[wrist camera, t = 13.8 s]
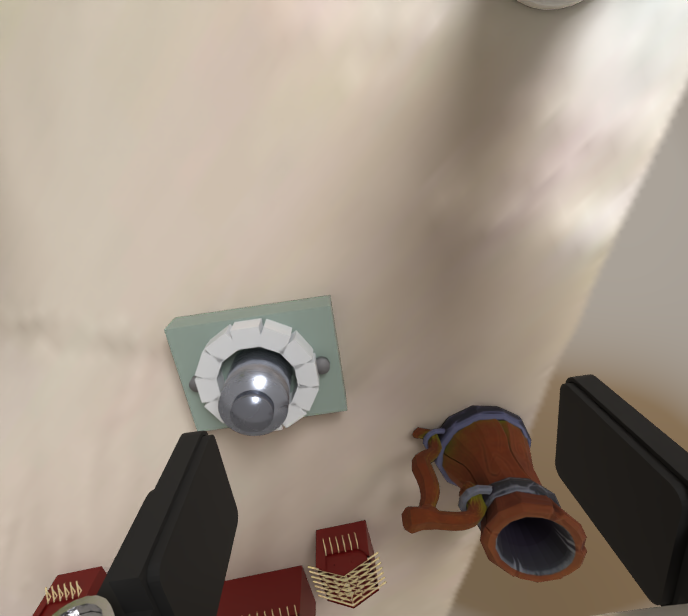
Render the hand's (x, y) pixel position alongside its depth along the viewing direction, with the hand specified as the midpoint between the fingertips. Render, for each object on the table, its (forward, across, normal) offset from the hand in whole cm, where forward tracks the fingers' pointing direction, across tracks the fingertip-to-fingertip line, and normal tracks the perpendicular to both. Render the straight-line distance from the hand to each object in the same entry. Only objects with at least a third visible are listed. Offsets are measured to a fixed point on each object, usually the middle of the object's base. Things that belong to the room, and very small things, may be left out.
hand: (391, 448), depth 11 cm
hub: (+27, +10, +12) cm, 31 cm away
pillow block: (+30, +10, +12) cm, 34 cm away
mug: (+31, -10, +26) cm, 41 cm away
